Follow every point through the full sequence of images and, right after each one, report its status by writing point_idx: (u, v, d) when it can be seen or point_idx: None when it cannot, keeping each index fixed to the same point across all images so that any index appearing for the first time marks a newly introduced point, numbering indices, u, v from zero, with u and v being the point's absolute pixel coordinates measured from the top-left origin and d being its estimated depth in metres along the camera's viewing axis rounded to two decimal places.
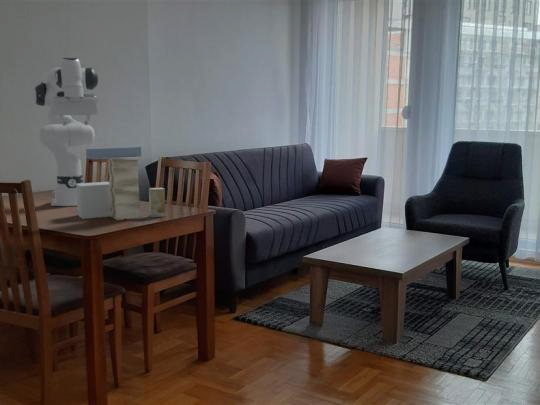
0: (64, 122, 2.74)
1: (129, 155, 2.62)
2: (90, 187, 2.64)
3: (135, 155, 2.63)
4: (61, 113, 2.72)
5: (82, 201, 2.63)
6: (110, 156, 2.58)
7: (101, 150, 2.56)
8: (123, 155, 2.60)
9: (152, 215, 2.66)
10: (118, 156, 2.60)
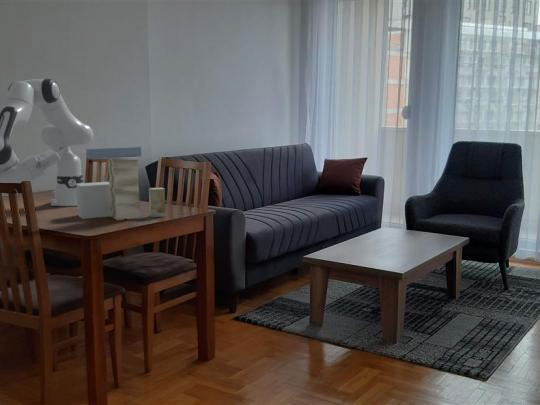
0: None
1: (129, 155, 2.62)
2: (90, 187, 2.64)
3: (135, 155, 2.63)
4: None
5: (82, 201, 2.63)
6: (110, 156, 2.58)
7: (101, 150, 2.56)
8: (123, 155, 2.60)
9: (152, 215, 2.66)
10: (118, 156, 2.60)
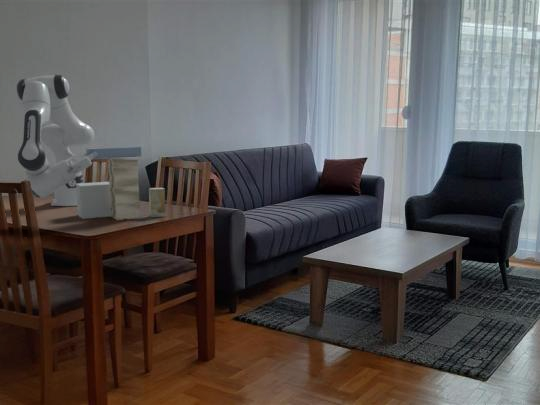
0: None
1: (129, 155, 2.62)
2: (90, 187, 2.64)
3: (135, 155, 2.63)
4: None
5: (82, 201, 2.63)
6: (110, 156, 2.58)
7: (101, 150, 2.56)
8: (123, 155, 2.60)
9: (152, 215, 2.66)
10: (118, 156, 2.60)
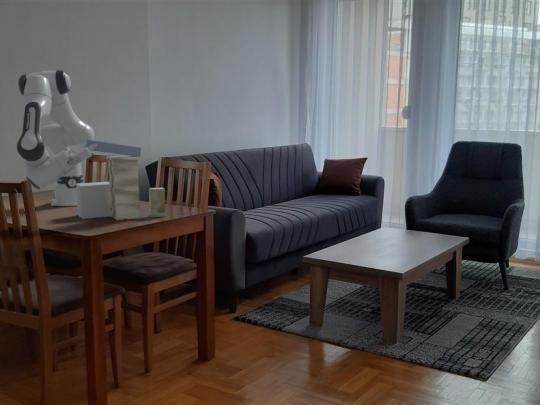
0: None
1: (128, 153, 2.61)
2: (90, 187, 2.64)
3: (134, 155, 2.63)
4: None
5: (82, 201, 2.63)
6: (109, 151, 2.58)
7: (101, 143, 2.56)
8: (122, 152, 2.60)
9: (152, 215, 2.66)
10: (117, 152, 2.59)
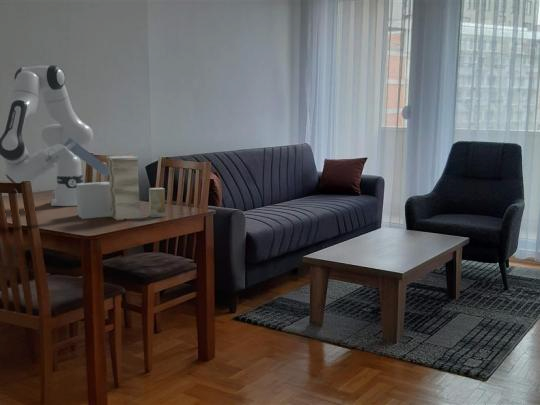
0: None
1: (97, 168, 2.67)
2: (90, 187, 2.64)
3: (102, 172, 2.68)
4: None
5: (82, 201, 2.63)
6: (82, 157, 2.64)
7: (79, 147, 2.62)
8: (93, 165, 2.66)
9: (152, 215, 2.66)
10: (88, 162, 2.65)
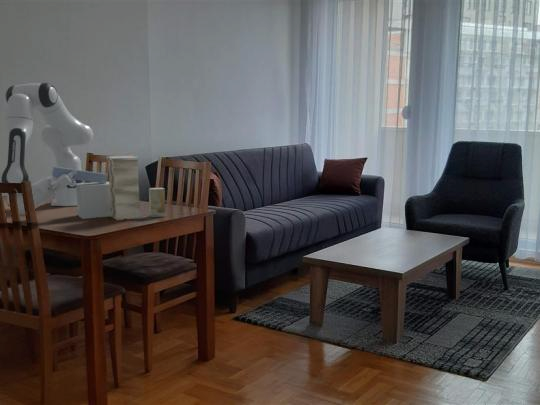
0: None
1: (94, 180, 2.67)
2: (90, 187, 2.64)
3: (100, 181, 2.68)
4: None
5: (82, 201, 2.63)
6: (75, 178, 2.63)
7: (67, 170, 2.61)
8: (88, 179, 2.66)
9: (152, 215, 2.66)
10: (83, 179, 2.65)
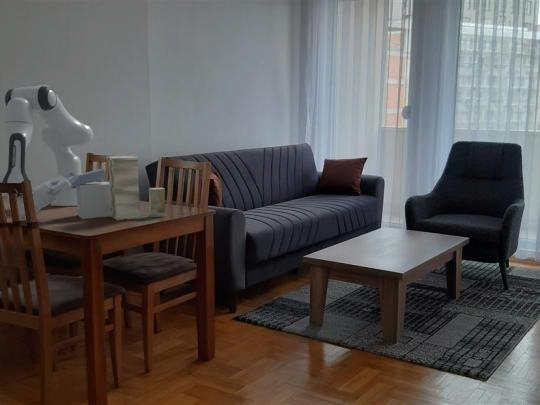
0: None
1: (94, 179, 2.67)
2: (90, 187, 2.64)
3: (100, 178, 2.68)
4: None
5: (82, 201, 2.63)
6: (75, 184, 2.64)
7: None
8: (88, 181, 2.66)
9: (152, 215, 2.66)
10: (83, 183, 2.65)
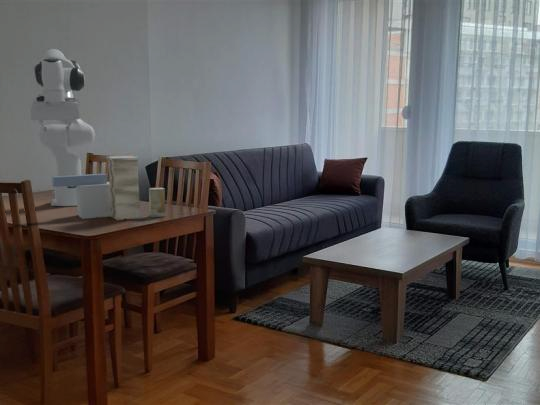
0: (44, 128, 2.60)
1: (95, 182, 2.67)
2: (90, 187, 2.64)
3: (101, 182, 2.69)
4: (41, 118, 2.58)
5: (82, 201, 2.63)
6: (76, 184, 2.64)
7: (66, 178, 2.62)
8: (89, 183, 2.66)
9: (152, 215, 2.66)
10: (84, 184, 2.65)
